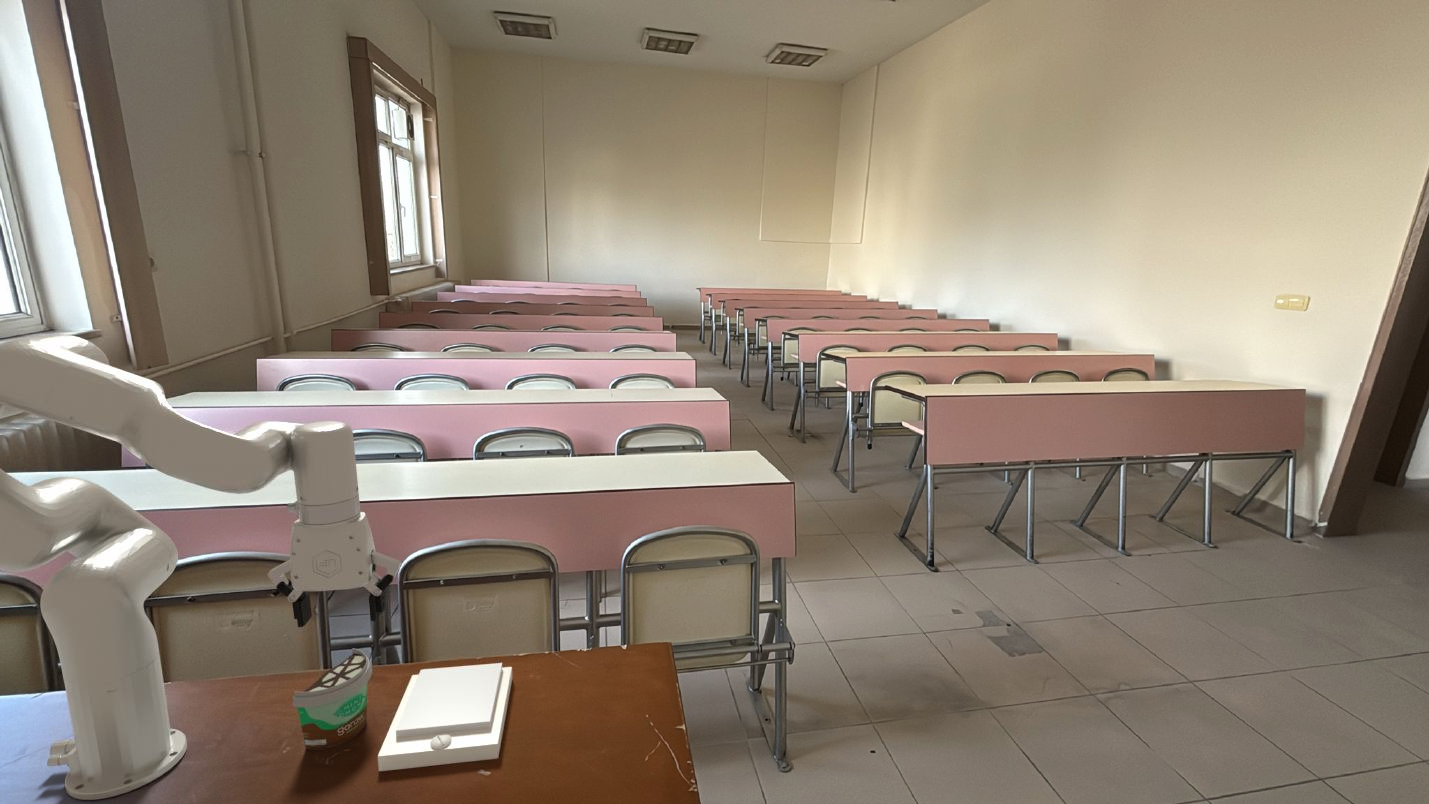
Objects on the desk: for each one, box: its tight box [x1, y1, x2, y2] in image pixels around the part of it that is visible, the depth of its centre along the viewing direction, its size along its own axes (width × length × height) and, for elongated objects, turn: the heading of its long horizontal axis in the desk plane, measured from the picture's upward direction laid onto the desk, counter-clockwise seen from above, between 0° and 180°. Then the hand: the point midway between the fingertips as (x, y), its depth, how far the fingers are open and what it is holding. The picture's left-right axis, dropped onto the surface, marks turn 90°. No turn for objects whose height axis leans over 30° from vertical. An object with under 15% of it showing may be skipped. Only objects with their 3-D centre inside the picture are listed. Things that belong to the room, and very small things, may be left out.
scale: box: [377, 662, 513, 772], centre depth 101 cm, size 16×19×4 cm
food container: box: [292, 647, 373, 751], centre depth 98 cm, size 12×6×10 cm, turn 168°
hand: (341, 619), depth 95 cm, fingers open, 9 cm apart
